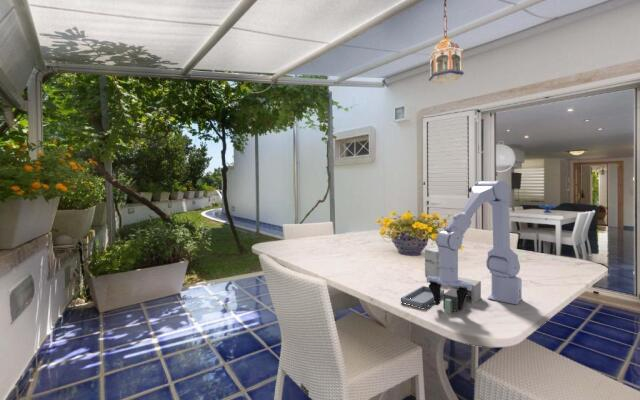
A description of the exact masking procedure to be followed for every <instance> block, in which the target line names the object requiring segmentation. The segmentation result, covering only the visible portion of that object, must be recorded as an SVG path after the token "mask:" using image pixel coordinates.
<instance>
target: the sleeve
mask: <svg viewBox="0 0 640 400" xmlns="http://www.w3.org/2000/svg"><path fill="white" fill-rule="evenodd" d="M458 280H461V281H464V282H468V283H472V290H471V291H469V292H468V294H467V295H466V297H471V303H472V304H475V303H476V302H478V301H479V300H480V299H481V298H482V296H481V295H482V292H481V291H482V281H481V280H477V279H476V280H475V279H470V278H465V277H459V276H458ZM452 288H453V289H459V288H457V287H452V286H450V290H451V289H452Z"/></svg>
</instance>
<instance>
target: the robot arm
mask: <svg viewBox="0 0 640 400" xmlns="http://www.w3.org/2000/svg"><path fill="white" fill-rule="evenodd" d="M486 202H487V203H488V204H490V206H491V208H492V209H491V211H492V219H491V220H492V245H493V247H492V249H490V250H489V251H487V258H486V264H485V265H486V268H487V269H488V271H489V273H490V274H491V293H490V295H488V297H487V299H488V300H492V301H497V302H502V303H508V304H511V305H518V304H519V303H520V302H521V301H522V299H523V297H522V293H523V292H522V287H523V285H522V281H523V280H522V278H521V277H520V276H517V275H518V274H519V273H520V270H521V264H520V261H519V255H518V254H517V253H516V252H515V251H514V250H513V249H512V248H511V233H510V232H511V229H510V226H511V225H510V185H508V183H507V182H506V181H504V180H501V179H500V180H476V182H475V183H474V185H473V186H472V188H471V195H470V197H469V199H468V200H467V202H466V204H465V205H464V207H463V208H462V210H461V212H458V213H456V214H454V215H453V216H452V219H451V220H450V222H449V223H448V224H447V226H445V229H444V230H441V231H439V232H438V233H437V234H436V238H435V239H434V240H435V244H436V246H437V248H438V251H439V266H440V277H436V276H426V283H429V284H428V287H429V288H430V290H431V292H432V294H433V296H434V300H435V302H434V303H435V306H439V305H440V304H441V298H440V290H442V289H441V288H442V286H447V287H451V286H452V287H457V288H459V289H458V290H457V291H456V292H457V297H458V312H459V311H460V312H461V311H462V310H463V308H464V307H463V303H464V300H465V298H466V299H467V296H466V295H467V294H468V292H469V291H471V290H472V283H468V282H464V281H461V280H458V277H459V248H461V246H462V245H463V238H464V235H465V234H466V232H467V230H469V227H470V226H471V225H472V219H471V218H472V217H473V216H474V214H475V213H476V212H477V210H479V209H480V207H482V205H483V204H484V203H486Z"/></svg>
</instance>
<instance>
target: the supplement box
mask: <svg viewBox="0 0 640 400" xmlns="http://www.w3.org/2000/svg"><path fill="white" fill-rule="evenodd" d="M425 275H426V276H425ZM424 276H425V277H428V276H436V277H440V266H439V251H438V247H431V248H425V249H424Z"/></svg>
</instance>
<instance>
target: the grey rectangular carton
mask: <svg viewBox="0 0 640 400" xmlns="http://www.w3.org/2000/svg"><path fill="white" fill-rule="evenodd" d="M457 290H458V289H453V288H452V289H451V288H450V289H449V290H448V291H446V292H444V294H443V296H442V300H443V303H442V304H443V305H442V307H443V308H444V312H445V313H449V314H450V313H452V312H457V313H458V312H459V311H458V297H457V292H456V291H457ZM466 299H467V297H466V298H465V300H464V303H463V307H462V308H464V307H465V306H466V305H467V304H466V301H467V300H466Z"/></svg>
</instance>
